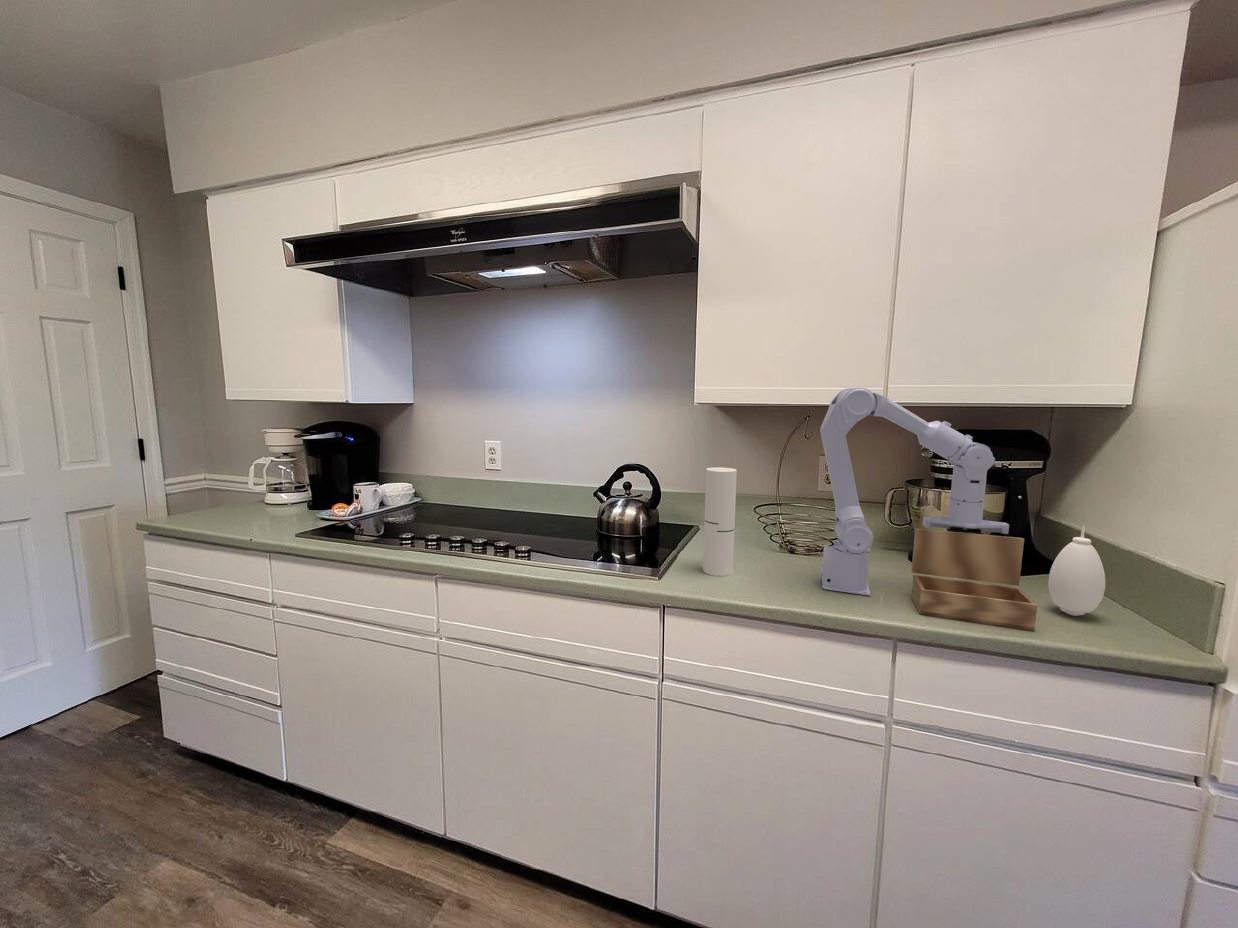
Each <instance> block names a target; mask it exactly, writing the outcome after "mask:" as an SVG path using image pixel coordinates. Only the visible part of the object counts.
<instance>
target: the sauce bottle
mask: <svg viewBox="0 0 1238 928" xmlns="http://www.w3.org/2000/svg"><path fill="white" fill-rule="evenodd" d="M1085 530H1086V527H1085V525H1084V524H1083V525H1082V529H1081V533H1080V536H1074V537H1073V538H1072V539H1071V540H1072V541H1071V542H1069V543H1068V544H1067V545H1065V546H1064V547H1063V548H1062V549H1061V550H1060V552H1059V553H1058V554H1057V556H1056V558H1055V559H1054V561H1053V563H1052V565H1051V568H1050V571H1049V575H1048V580H1047V581H1048V585H1047V586H1048V592H1049V596H1050V598H1051V600H1052V602H1053V603H1054V605H1056V606H1057V607H1059V610H1060V611H1062V612H1064V614H1067V615H1068V614H1069V615H1070V616H1071V617H1078V616H1084V615H1086V614H1087V613H1092V612H1093V611H1094V610H1096V609H1097V607H1098V606H1099V605H1100V603H1101V602H1102V600H1103V598H1104V594H1105V591H1106V574H1105V570H1104V569H1105V568H1104V566H1103V562H1102V560H1101V557H1100V555H1099V553H1098V551H1097V550H1096V548H1095V547H1094V546H1093V545H1092V540H1091V539H1090V538H1086V537H1085ZM1069 615H1068V616H1069Z"/></svg>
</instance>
